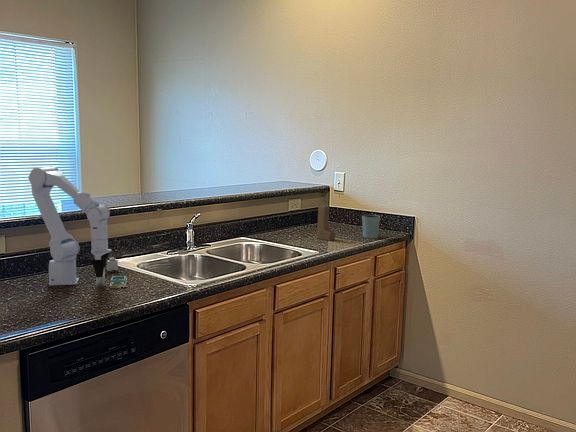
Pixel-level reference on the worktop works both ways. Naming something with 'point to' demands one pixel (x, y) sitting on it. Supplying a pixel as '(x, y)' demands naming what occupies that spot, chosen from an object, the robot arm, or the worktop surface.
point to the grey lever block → (112, 264)
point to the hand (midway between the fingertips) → (100, 274)
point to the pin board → (118, 281)
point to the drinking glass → (370, 226)
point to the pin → (101, 280)
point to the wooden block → (324, 224)
